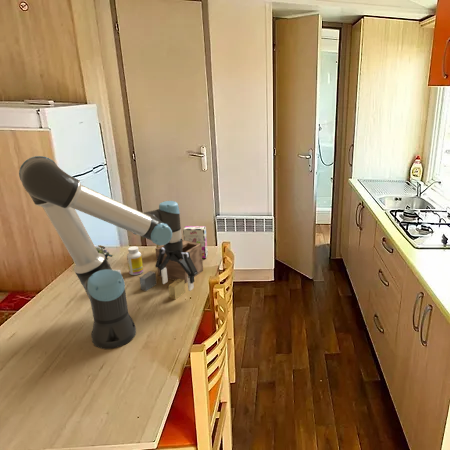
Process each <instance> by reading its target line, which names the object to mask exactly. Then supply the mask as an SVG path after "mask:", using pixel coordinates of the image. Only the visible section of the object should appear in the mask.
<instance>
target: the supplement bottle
mask: <svg viewBox="0 0 450 450" xmlns="http://www.w3.org/2000/svg"><path fill="white" fill-rule="evenodd" d="M127 251H128V253H126V258H127V266H128V273H129V275H132V276H139V275H141V274H142V273H144V265H143V258H142V257H143V256H142V253H141V252H140V251H139V247H138V246H129V247H128V248H127Z"/></svg>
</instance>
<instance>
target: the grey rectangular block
mask: <svg viewBox="0 0 450 450" xmlns="http://www.w3.org/2000/svg"><path fill="white" fill-rule="evenodd" d="M139 284H140V290H141V291H145V292H147V291H149V290H150V289H151V288H153V287H155V286H156V285H158V284H157V274H156V272H155V271H152V270H149V271H148V272H146V273H145V274H143V275H141V276H140V277H139Z"/></svg>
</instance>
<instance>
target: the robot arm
mask: <svg viewBox="0 0 450 450" xmlns="http://www.w3.org/2000/svg"><path fill="white" fill-rule="evenodd" d="M18 175H19V179H20V183H22V187H23V188H24V190H25V191H26V192H27V193H28V195H29V197H30V198H31V201H32V202H33V203H34V205H35V206H37V207H41V208H43V210H44V212H45V214H46V216H47V217H48V219H49V221H50V223H51V224H52V226H53V228H54V229H55V231H56V233H57V235H58V236H59V238H60V239H61V241H62V244H63V245H64V247H65V249H66V250H67V252H68V254H69V255H70V257H71V258H72V261H73V262H74V264H75V265H74V268H73V271H74V273H75V275H76V277H77V279H78V280H79V282H80V284H81V285H82V287H83V289H84V290H85V292H86V294H87V295H86V296H87V297H88V299H89V302H90V306H91V311H92V317H93V326H92V331H91V334H90V335H91V342H92V344H93V345H94V347H96V348H99V349H104V350H110V349H117V348H120V347H122V346H125V345H126V344H128V343H130V342H131V341H132V340H133V339H134V338H135V336H136V334H137V327H136V324H135V322H134V321H133V317H132V316H131V315H130V312H129V310H128V309H129V307H128V301H127V294H126V288H125V287H126V284H125V280H124V278H123V274H122V273H121V274H120V273H119V272H118V271H115V270H116V269H112V267H111V265H110V263H109V261H108V260H107V259H106V257H105V255H104V254H101V253H98V251H97V250H96V248H97V247H96V246H95V244H94V242H93V241H92V239H91V236H90V235H89V233H88V231H87V229H86V227H85V226H84V224H83V221H82V220H81V217H80V216H79V214H78V212H81V213H83V214H86V215H89V216H91V217H94V218H96V219H99V220H100V221H103V222H105V223H109V224H111V225H114V226H116V227H118V228H120V229H123V230H125V231H128V232H130V233H132V234H134V235H138V236H139V237H142V238H145V239H147V240H150V241H151V242H152V243H153V244H155V245H156V244H157V245H164V247H162V248H161V249H159V256H158V259H156V263H155V265H154V266H155V268H157V267H158V268H159V269H160V275H161V276H162V277H161V281H162V284H163V285H165V284H166V283H168V281H169V280H168V277H167V269H166V268H164V267H165V266H166V264H167V263H168V262H169V260H171V261H175V262H178V264H180V265H181V266H182V268H183V269H184V270H185V272H186V273H187V274H188V276H187V281H188V282H187V289H188V290H187V291H188V292H191V291H192V290H193V289H194V288H195V286H194V282H195V277H196V276H197V275H196V274H198V272H197V270H196V268H195V266H194V264H193V262H192V260H191V258H190V253H189V252H186V253H184V252H183V251H182V248H183V243H182V240H183V239H182V237H183V236H182V235H183V233H182V226H181V215H180V214H181V213H180V208H179V204H178V202H177V201H175V200H166V201H163V202H160V203H159V204H158V209H157V208H156V209H154V210H149V211H144V212H142V211H140V210H137V209H135V208H132V207H130V206H128V205H126V204H124V203H121V202H119V201H118V200H116V199H113V198H111V197H108V196H106V195H104V194H103V193H99V192H97V191H96V190H94V189H92V188H89V187H86V186H84V185H83V184H82V183H81V182H80V179H77V178H76V177H74V176H71V175H70V174H68V173H67V172H65V171H64V170H63V169H62V168H60V167H59V166H58V164H57V163H56V162H55V161H54V160H53V159H51V158H50V157H46V156H44V155H43V156H39V155H38V156H37V155H36V156H32V157H29V158H27V159H26V160H25V161H23V163H22V164H21V165H20V167H19V171H18ZM77 211H78V212H77ZM95 247H96V248H95ZM165 253H166V255H167V256H166V258H165V260H164V261H163V258H164V255H165ZM180 259H182V260H181V261H180ZM162 261H163V263H162ZM158 268H157V269H158ZM113 270H114V271H113ZM190 272H191V273H190ZM195 275H196V276H195ZM198 275H199V274H198ZM194 276H195V277H194Z"/></svg>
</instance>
